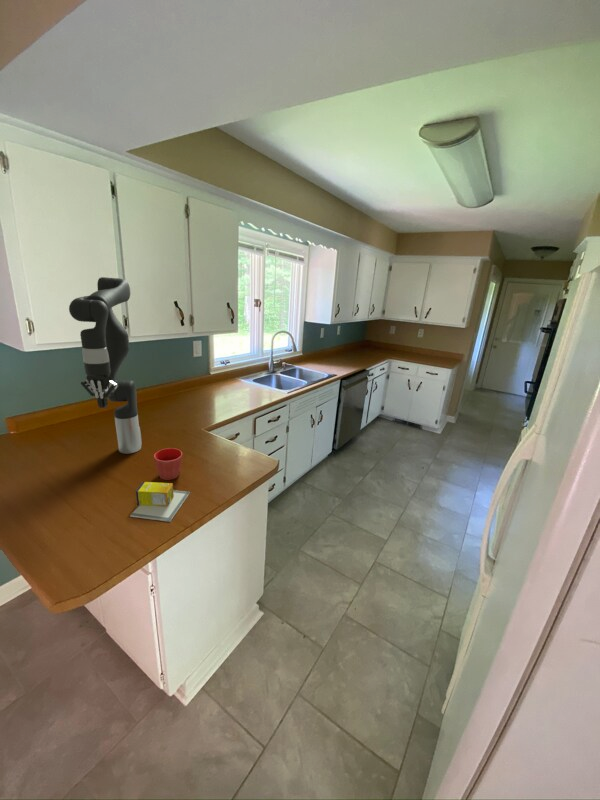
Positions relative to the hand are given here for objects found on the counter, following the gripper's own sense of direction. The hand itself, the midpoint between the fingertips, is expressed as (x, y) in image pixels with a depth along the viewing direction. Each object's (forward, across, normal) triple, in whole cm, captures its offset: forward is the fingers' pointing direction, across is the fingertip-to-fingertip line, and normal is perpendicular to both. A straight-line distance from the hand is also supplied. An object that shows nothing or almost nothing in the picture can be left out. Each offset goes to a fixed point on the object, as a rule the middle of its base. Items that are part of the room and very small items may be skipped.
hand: (103, 407), depth 114 cm
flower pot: (+31, -19, -8) cm, 37 cm away
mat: (+31, -25, +10) cm, 41 cm away
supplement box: (+28, -17, +10) cm, 34 cm away
